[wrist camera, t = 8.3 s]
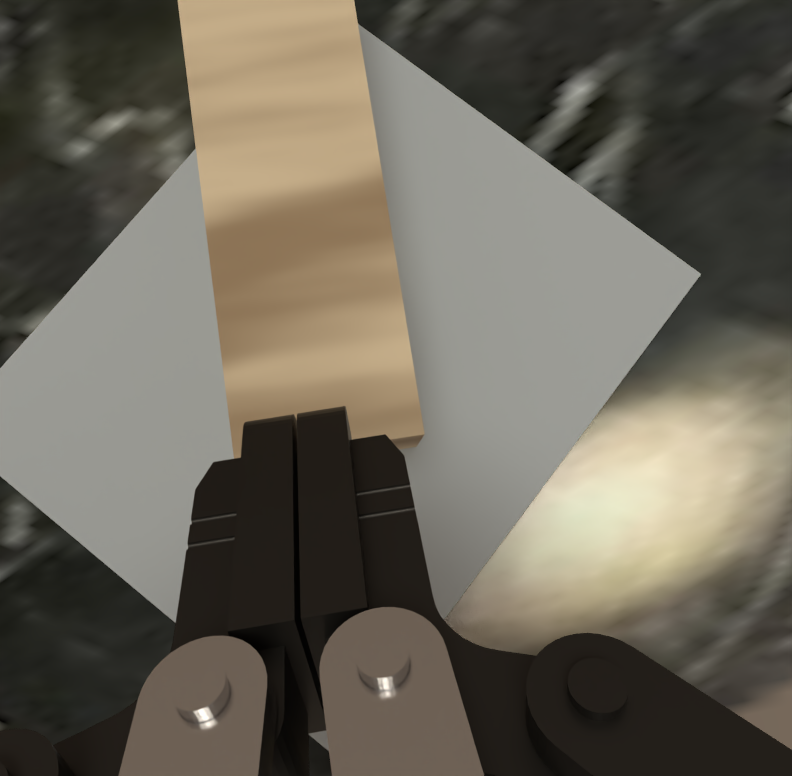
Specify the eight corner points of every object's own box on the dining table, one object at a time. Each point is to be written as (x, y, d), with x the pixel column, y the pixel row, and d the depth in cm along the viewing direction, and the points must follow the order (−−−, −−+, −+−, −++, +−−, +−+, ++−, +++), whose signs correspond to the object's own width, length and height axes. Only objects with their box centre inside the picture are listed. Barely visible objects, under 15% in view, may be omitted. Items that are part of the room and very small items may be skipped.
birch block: (424, 434, 17) (339, -88, 19) (234, 463, 16) (169, -67, 18) (416, 446, 21) (348, 23, 23) (266, 470, 21) (211, 42, 23)
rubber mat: (340, 753, 20) (339, 760, 20) (-45, 431, 21) (-55, 430, 21) (694, 278, 23) (700, 274, 22) (328, 11, 24) (326, 1, 23)
